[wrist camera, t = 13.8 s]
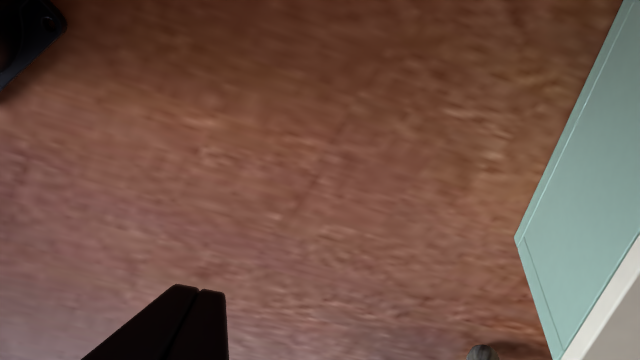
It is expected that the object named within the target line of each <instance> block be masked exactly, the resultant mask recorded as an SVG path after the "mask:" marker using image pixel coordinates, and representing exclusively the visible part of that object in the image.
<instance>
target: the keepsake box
mask: <svg viewBox="0 0 640 360" xmlns="http://www.w3.org/2000/svg"><path fill="white" fill-rule="evenodd" d="M639 234H640V0H623V2H622V4H621V7H620V9H619V11H618V13H617V15H616V17H615V20H614V22H613V24H612V26H611V28H610V30H609V33H608V35H607V37H606V39H605V41H604V43H603V46H602V48H601V50H600V52H599V54H598V56H597V59H596V61H595V63H594V65H593V67H592V69H591V72H590V74H589V76H588V78H587V80H586V82H585V85H584V87H583V89H582V91H581V93H580V95H579V98H578V100H577V102H576V104H575V106H574V108H573V111H572V113H571V115H570V117H569V119H568V121H567V124H566V126H565V128H564V130H563V132H562V134H561V137H560V139H559V141H558V143H557V145H556V147H555V150H554V152H553V154H552V156H551V158H550V160H549V163H548V165H547V167H546V169H545V171H544V173H543V176H542V178H541V180H540V182H539V184H538V186H537V189H536V191H535V193H534V195H533V197H532V199H531V202H530V204H529V206H528V208H527V210H526V212H525V215H524V217H523V219H522V221H521V223H520V225H519V228H518V230H517V232H516V234H515V236H514V240H515V243H516V246H517V248H518V252H519V255H520V259H521V262H522V265H523V268H524V271H525V274H526V277H527V281H528V284H529V287H530V290H531V293H532V296H533V299H534V302H535V306H536V309H537V312H538V315H539V318H540V321H541V324H542V328H543V331H544V334H545V337H546V340H547V343H548V346H549V350H550V353H551V356H552V359H553V360H561V358H562V356H563V355H564V353H565V352H566V350H567V348H568V347H569V345H570V344H571V342H572V341H573V339H574V337H575V336H576V334H577V333H578V331H579V329H580V328H581V326H582V325H583V323H584V322H585V320H586V318H587V317H588V315H589V314H590V312H591V310H592V309H593V307H594V306H595V304H596V303H597V301H598V299H599V298H600V296H601V295H602V293H603V291H604V290H605V288H606V287H607V285H608V284H609V282H610V280H611V279H612V277H613V276H614V274H615V272H616V271H617V269H618V268H619V266H620V265H621V263H622V261H623V260H624V258H625V257H626V255H627V253H628V252H629V250H630V249H631V247H632V245H633V244H634V242H635V241H636V239H637V238H638V236H639Z"/></svg>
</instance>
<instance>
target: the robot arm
mask: <svg viewBox="0 0 640 360" xmlns="http://www.w3.org/2000/svg"><path fill="white" fill-rule="evenodd" d="M48 18H49V19H51V20H52V21H53V22H54V24H55V28H53V27H51V26H50V25H49V23H48ZM66 30H67V22H66V19H65V17H64V16H63V14H62V13H61V12H60V11H59V10H58V9H57V8H56V7H55V6H54V5H53V4H52V3H51V1H50V0H0V92H1V91H2V90H3V89H4V88H5V87H6V86H8V85H9V84H10V83H11V82H12V81H13V80H14V79H15V78H16V77H17V76H18V75H19V74H20V73H22V72H23V71H24V70H25V69H26V68H27V67H28V66H29V65H30V64H31V63H32V62H33V61H35V60H36V59H37V58H38V57H39V56H40V55H41V54H42V53H43V52H44V51H45V50H46V49H47V48H49V47H50V46H51V45H52V44H53V43H54V42H55V41H56V40H57V39H58V38H59V37H60V36H62V35H63V34H64V33H65V31H66ZM81 360H229V350H228V333H227V316H226V299H225V295H224V293H222V292H217V291H212V290H207V289H202V290H201V291H199V289H198V288H196V287H192V286H186V285H181V284H175V285H173V286H171V287H170V288H169V289H167V290H166V291H165V292H164V293H163V294H161V295H160V296H159V297H158V298H156V299H155V300H154V301H153V302H151V303H150V304H149V305H148V306H147V307H145V308H144V309H143V310H142V311H140V312H139V313H138V314H137V315H135V316H134V317H133V318H132V319H130V320H129V321H128V322H127V323H126V324H124V325H123V326H122V327H121V328H119V329H118V330H117V331H116V332H114V333H113V334H112V335H111V336H109V337H108V338H107V339H106V340H105V341H103V342H102V343H101V344H100V345H98V346H97V347H96V348H95V349H93V350H92V351H91V352H90V353H88V354H87V355H86V356H85V357H84V358H82V359H81Z"/></svg>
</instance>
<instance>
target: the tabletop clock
mask: <svg viewBox="0 0 640 360" xmlns="http://www.w3.org/2000/svg"><path fill="white" fill-rule="evenodd" d="M466 360H499V357H498V354H497V352H496V351H495V350H494V349H493V348H491V347H490V346H487V345H477V346H474V347H472V349H471V350H470V352H469V354H468V355H467V359H466Z"/></svg>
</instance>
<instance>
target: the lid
mask: <svg viewBox="0 0 640 360" xmlns="http://www.w3.org/2000/svg"><path fill="white" fill-rule="evenodd" d="M561 360H640V234H639V236H638V238H637V239H636V241H635V242H634V244H633V245H632V247H631V249H630V250H629V252H628V253H627V255H626V257H625V258H624V260H623V261H622V263H621V265H620V266H619V268H618V269H617V271H616V272H615V274H614V276H613V277H612V279H611V280H610V282H609V284H608V285H607V287H606V288H605V290H604V291H603V293H602V295H601V296H600V298H599V299H598V301H597V303H596V304H595V306H594V307H593V309H592V310H591V312H590V314H589V315H588V317H587V318H586V320H585V322H584V323H583V325H582V326H581V328H580V329H579V331H578V333H577V334H576V336H575V337H574V339H573V341H572V342H571V344H570V345H569V347H568V348H567V350H566V352H565V353H564V355H563V356H562V358H561Z"/></svg>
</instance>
